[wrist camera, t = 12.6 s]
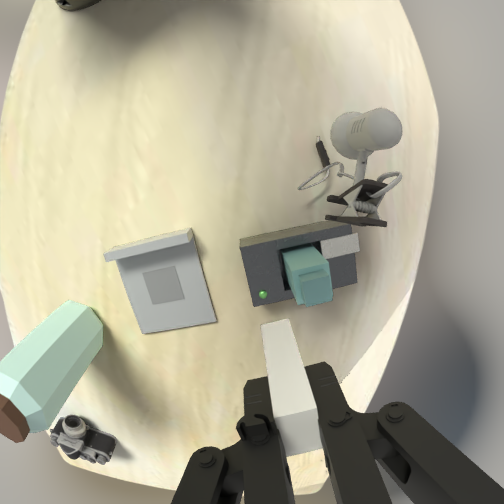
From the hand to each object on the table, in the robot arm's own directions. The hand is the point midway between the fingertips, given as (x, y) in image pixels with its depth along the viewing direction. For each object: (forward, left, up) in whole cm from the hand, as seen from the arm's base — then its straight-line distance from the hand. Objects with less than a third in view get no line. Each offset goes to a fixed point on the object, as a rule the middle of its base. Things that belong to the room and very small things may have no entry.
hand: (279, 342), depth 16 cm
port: (+4, +5, -26) cm, 27 cm away
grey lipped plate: (+4, -14, -26) cm, 30 cm away
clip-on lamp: (-8, +11, -26) cm, 29 cm away
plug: (+4, +5, -25) cm, 26 cm away
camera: (+32, -45, -26) cm, 61 cm away
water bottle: (+8, -31, -26) cm, 41 cm away
